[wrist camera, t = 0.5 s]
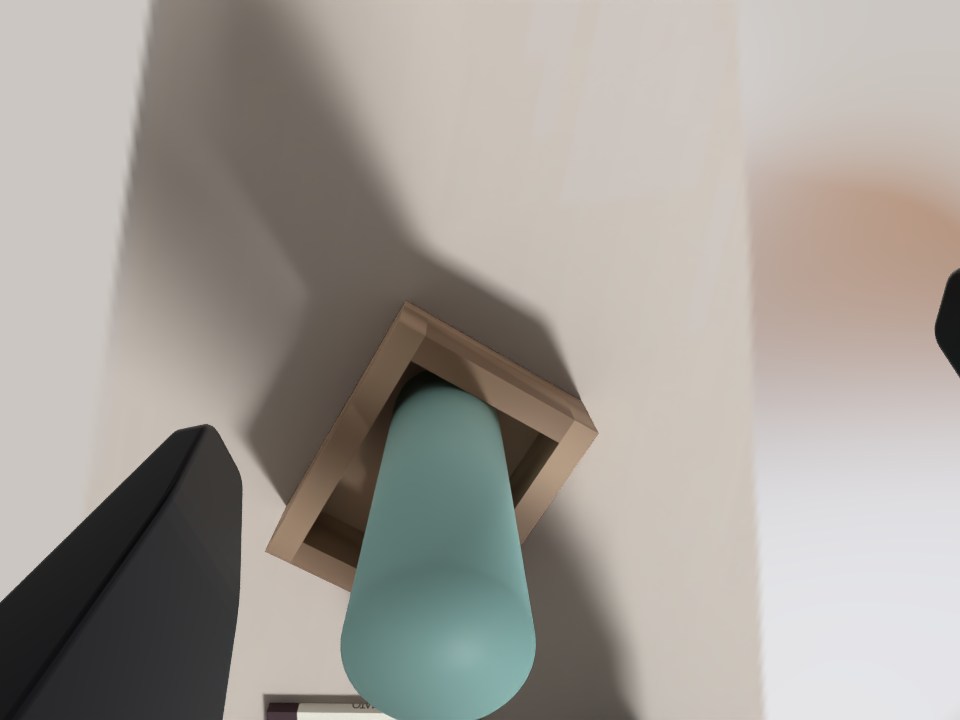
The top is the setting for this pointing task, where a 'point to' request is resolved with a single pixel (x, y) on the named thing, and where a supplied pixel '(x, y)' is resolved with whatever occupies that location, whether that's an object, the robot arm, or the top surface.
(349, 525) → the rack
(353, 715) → the chocolate bar
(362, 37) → the top surface
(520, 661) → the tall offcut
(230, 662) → the robot arm
